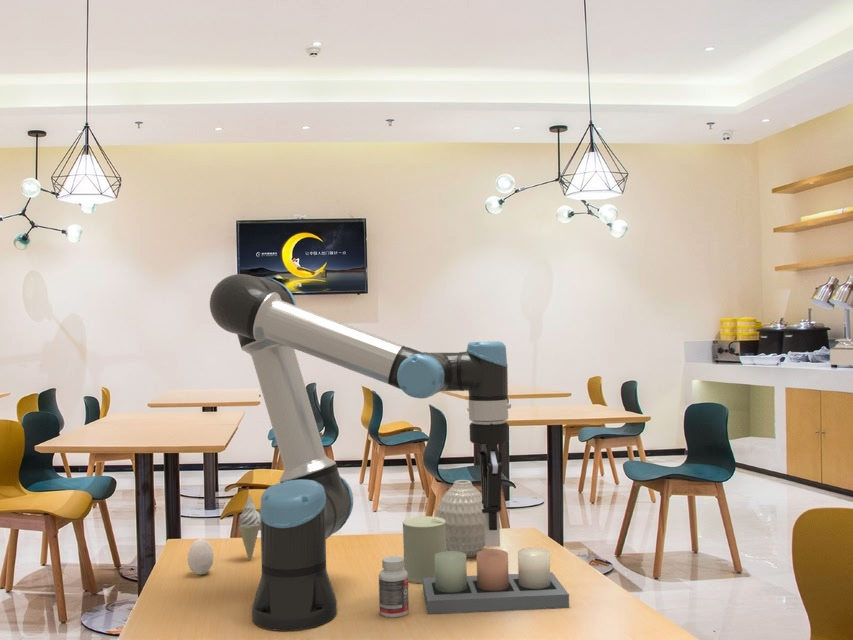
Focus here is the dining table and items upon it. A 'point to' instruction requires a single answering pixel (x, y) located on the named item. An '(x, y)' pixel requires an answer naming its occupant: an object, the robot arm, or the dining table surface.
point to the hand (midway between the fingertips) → (492, 545)
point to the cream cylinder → (534, 568)
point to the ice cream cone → (249, 526)
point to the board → (494, 597)
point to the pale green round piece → (450, 571)
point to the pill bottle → (393, 588)
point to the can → (422, 546)
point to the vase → (463, 518)
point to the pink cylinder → (492, 569)
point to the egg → (200, 557)
